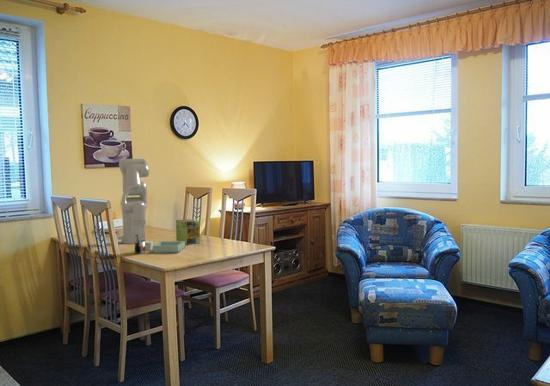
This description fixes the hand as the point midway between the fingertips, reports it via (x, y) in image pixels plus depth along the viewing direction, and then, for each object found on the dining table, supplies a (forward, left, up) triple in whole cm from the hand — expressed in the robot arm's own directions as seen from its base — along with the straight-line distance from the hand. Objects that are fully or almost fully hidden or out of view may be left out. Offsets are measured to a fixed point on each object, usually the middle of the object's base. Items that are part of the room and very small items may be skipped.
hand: (140, 251), depth 290 cm
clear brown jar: (0, 0, -1) cm, 1 cm away
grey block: (+1, +12, -1) cm, 12 cm away
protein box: (+21, +36, -1) cm, 42 cm away
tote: (+16, +8, -1) cm, 18 cm away
